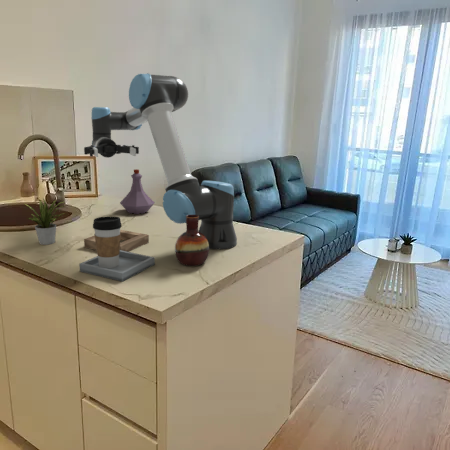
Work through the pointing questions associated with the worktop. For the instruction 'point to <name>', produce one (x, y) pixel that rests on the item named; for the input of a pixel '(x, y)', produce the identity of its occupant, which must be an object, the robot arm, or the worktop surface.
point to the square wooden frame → (129, 244)
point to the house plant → (45, 223)
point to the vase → (192, 244)
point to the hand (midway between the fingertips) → (116, 152)
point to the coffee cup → (107, 240)
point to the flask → (137, 197)
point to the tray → (119, 266)
